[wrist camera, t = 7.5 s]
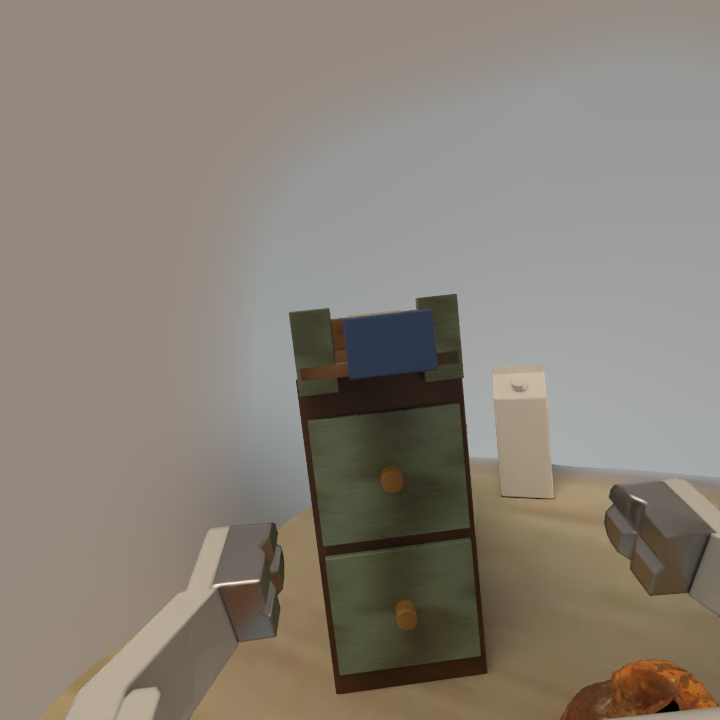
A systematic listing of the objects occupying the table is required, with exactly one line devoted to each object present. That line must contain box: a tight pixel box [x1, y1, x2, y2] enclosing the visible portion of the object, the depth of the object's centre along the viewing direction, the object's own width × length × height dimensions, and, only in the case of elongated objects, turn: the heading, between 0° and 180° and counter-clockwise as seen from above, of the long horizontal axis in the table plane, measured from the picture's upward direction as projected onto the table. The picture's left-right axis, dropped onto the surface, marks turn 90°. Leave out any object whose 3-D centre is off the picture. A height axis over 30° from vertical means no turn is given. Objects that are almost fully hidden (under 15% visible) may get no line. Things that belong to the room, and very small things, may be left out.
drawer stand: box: [289, 294, 487, 694], centre depth 36 cm, size 12×13×30 cm
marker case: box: [342, 309, 438, 380], centre depth 30 cm, size 4×20×3 cm, turn 3°
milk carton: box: [493, 365, 553, 498], centre depth 62 cm, size 7×7×19 cm
